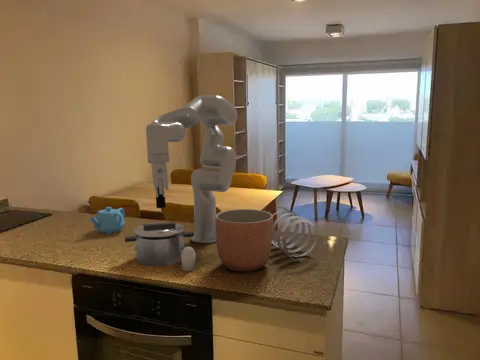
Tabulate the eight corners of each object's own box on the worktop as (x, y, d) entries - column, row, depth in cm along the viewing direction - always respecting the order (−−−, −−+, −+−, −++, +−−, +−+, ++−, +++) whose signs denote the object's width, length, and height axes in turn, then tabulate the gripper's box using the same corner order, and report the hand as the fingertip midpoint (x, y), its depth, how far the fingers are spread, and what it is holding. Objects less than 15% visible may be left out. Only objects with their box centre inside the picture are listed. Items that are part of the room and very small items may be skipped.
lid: (181, 223, 175) (181, 216, 174) (187, 235, 156) (187, 228, 156) (133, 226, 170) (133, 219, 169) (134, 239, 151) (133, 232, 151)
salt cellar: (194, 265, 157) (194, 244, 155) (196, 270, 152) (196, 248, 151) (180, 266, 155) (180, 245, 154) (182, 271, 151) (182, 249, 149)
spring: (262, 244, 186) (291, 268, 158) (253, 211, 182) (281, 230, 154) (294, 232, 190) (327, 253, 162) (286, 200, 186) (319, 216, 158)
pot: (190, 246, 178) (189, 223, 177) (197, 262, 159) (196, 236, 158) (126, 251, 172) (124, 227, 170) (125, 269, 153) (124, 242, 151)
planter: (255, 253, 170) (255, 206, 167) (283, 270, 151) (284, 218, 148) (207, 261, 160) (206, 212, 157) (231, 281, 142) (230, 225, 139)
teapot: (112, 224, 213) (111, 201, 211) (137, 229, 205) (135, 205, 203) (79, 234, 196) (77, 209, 194) (104, 240, 188) (103, 214, 186)
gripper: (170, 160, 147) (173, 211, 150) (166, 155, 161) (169, 202, 164) (148, 161, 145) (151, 213, 148) (146, 156, 159) (149, 203, 162)
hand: (160, 207), depth 156 cm, fingers closed
